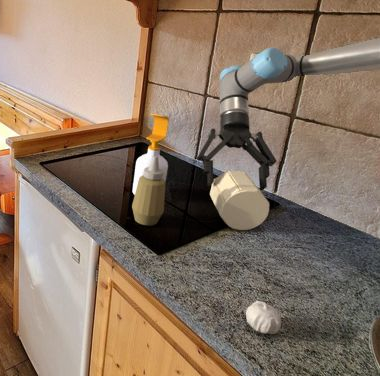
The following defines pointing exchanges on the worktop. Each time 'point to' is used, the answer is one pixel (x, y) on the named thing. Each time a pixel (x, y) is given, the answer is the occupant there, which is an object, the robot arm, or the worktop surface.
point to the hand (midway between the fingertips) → (236, 186)
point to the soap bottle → (153, 150)
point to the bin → (239, 200)
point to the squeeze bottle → (149, 195)
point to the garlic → (263, 318)
